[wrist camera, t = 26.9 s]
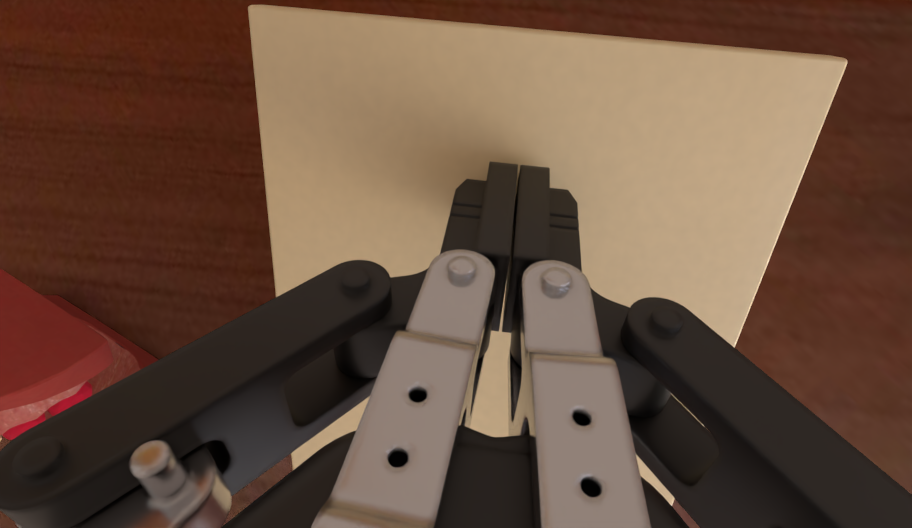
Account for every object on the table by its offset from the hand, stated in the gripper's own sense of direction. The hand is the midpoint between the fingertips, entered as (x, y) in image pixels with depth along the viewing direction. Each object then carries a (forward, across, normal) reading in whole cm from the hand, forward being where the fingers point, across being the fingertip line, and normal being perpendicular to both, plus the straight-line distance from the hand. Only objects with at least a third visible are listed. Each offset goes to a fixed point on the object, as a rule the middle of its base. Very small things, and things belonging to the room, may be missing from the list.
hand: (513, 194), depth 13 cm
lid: (0, 0, +5) cm, 5 cm away
